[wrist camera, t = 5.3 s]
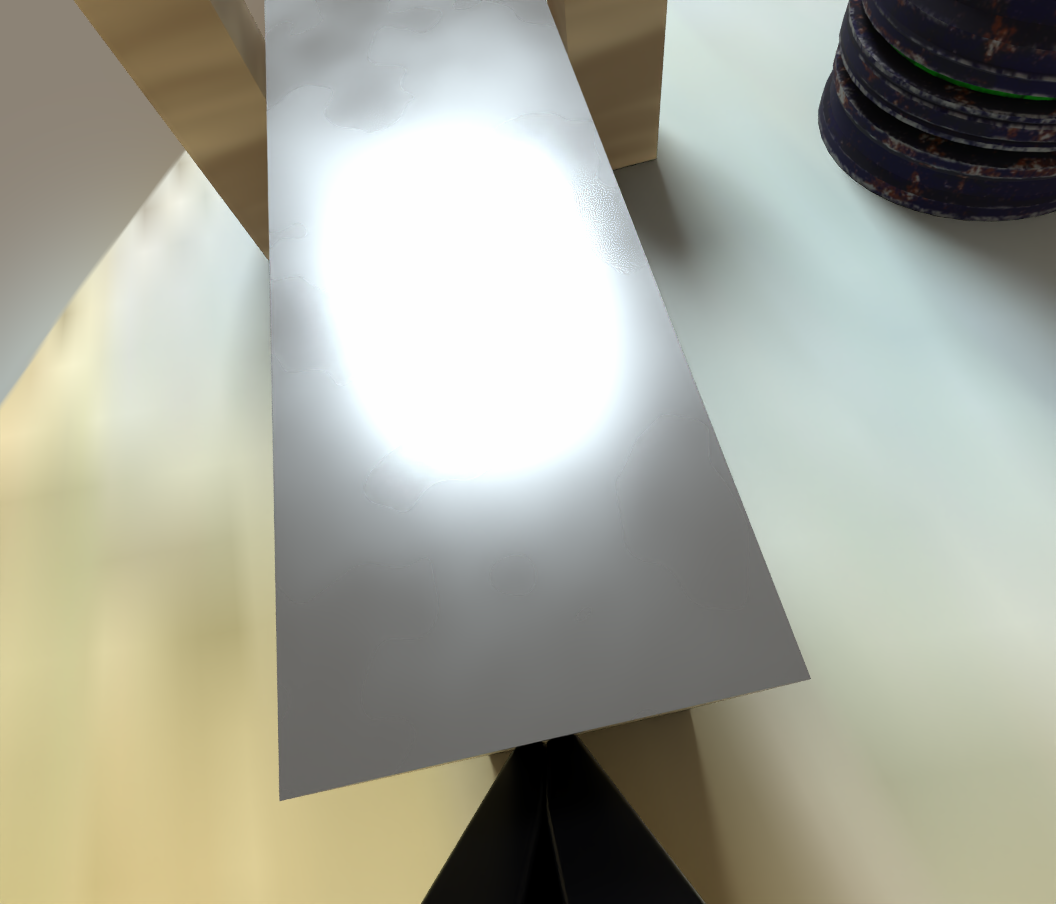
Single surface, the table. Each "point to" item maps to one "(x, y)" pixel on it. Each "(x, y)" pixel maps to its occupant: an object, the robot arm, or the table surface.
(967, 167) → the storage jar
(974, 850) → the table surface
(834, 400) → the table surface
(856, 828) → the table surface
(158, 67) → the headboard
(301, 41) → the silver rectangular block
